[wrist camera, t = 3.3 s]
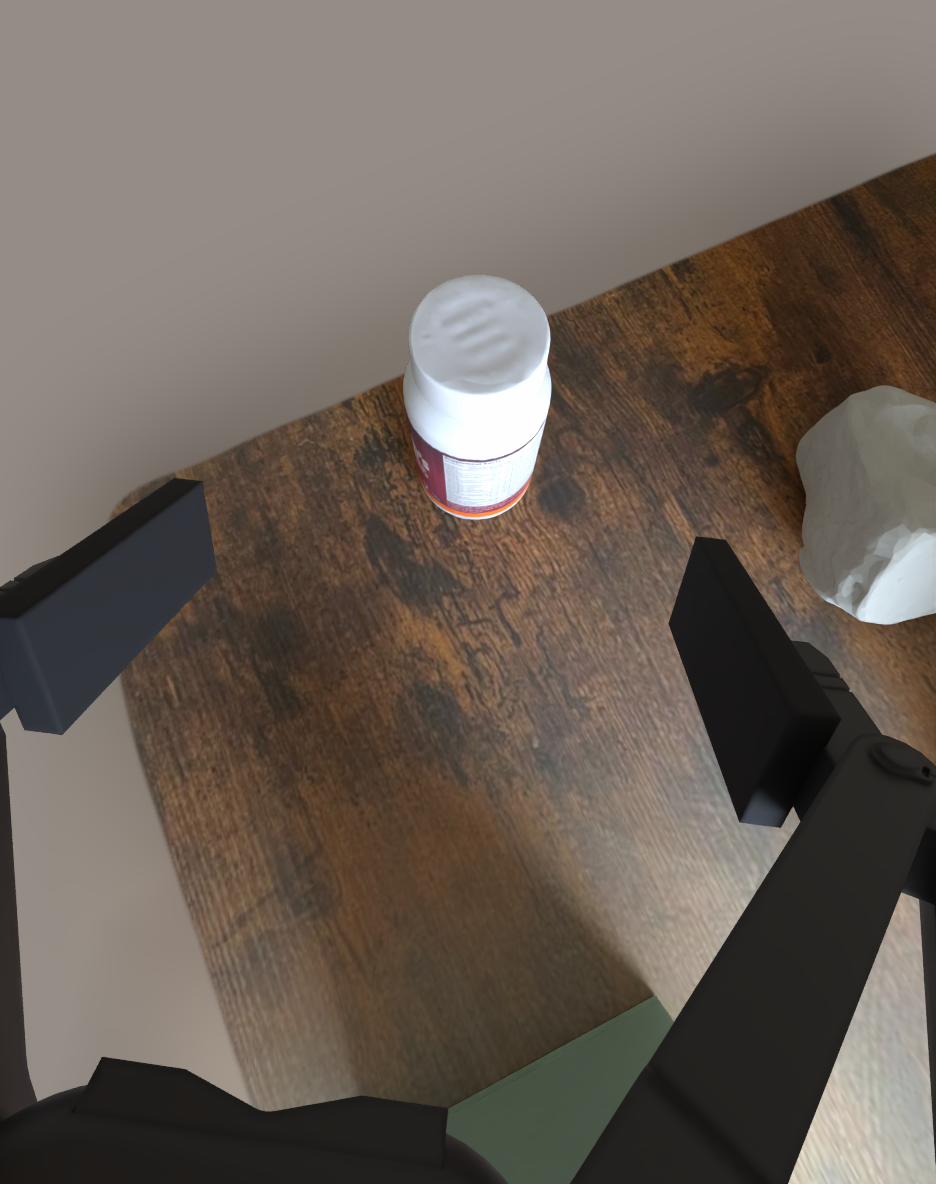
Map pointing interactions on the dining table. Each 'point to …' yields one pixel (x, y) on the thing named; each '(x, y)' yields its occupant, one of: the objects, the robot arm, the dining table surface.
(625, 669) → the dining table surface
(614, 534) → the dining table surface
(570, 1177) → the bin
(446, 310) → the pill bottle
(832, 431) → the decorative stone
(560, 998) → the dining table surface
